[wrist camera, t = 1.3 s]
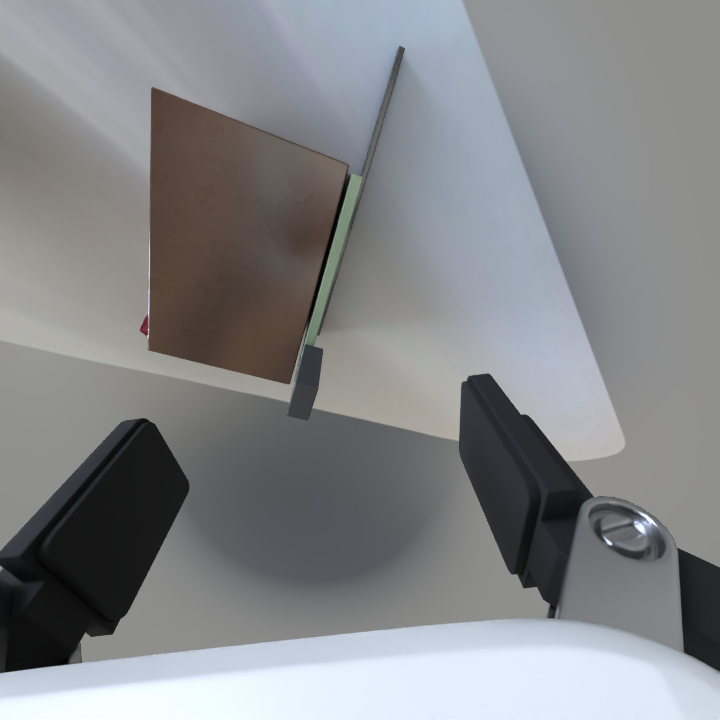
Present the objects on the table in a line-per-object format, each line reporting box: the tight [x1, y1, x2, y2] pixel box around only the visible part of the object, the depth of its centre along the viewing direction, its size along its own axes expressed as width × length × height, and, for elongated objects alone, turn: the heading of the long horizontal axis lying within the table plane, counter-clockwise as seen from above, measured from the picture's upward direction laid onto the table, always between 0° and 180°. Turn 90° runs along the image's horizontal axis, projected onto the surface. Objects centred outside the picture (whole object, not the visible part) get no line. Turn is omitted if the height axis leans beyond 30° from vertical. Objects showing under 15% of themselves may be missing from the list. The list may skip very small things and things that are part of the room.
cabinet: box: [148, 46, 405, 384], centre depth 27 cm, size 14×28×13 cm, turn 162°
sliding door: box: [287, 173, 363, 420], centre depth 28 cm, size 2×17×19 cm, turn 161°
